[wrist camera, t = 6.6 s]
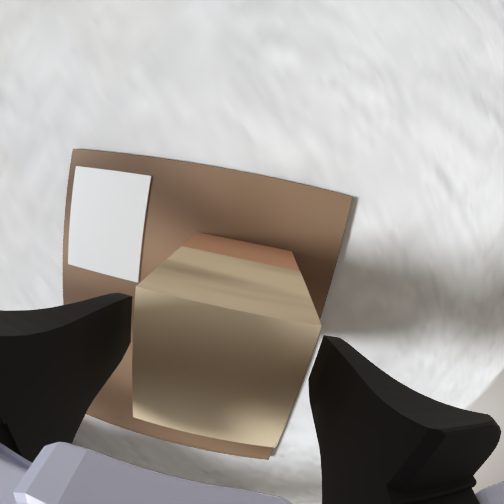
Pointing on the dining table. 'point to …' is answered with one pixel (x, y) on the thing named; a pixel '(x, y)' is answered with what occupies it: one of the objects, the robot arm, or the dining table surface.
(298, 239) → the build board
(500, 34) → the dining table surface
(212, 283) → the maple block
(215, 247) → the terracotta base block
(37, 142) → the dining table surface
